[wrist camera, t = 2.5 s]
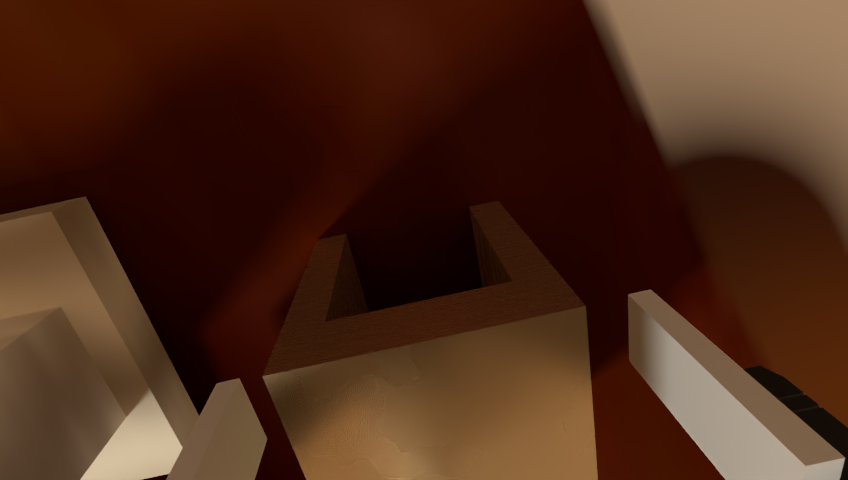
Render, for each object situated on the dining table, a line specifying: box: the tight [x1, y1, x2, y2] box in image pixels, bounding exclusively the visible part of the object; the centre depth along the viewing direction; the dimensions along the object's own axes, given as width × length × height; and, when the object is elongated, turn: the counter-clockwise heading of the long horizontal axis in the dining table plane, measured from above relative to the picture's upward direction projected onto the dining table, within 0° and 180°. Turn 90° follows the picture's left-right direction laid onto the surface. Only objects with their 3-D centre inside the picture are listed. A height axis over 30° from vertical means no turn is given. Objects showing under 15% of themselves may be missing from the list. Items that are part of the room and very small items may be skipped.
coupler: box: [263, 201, 598, 480], centre depth 13 cm, size 6×10×7 cm, turn 11°
